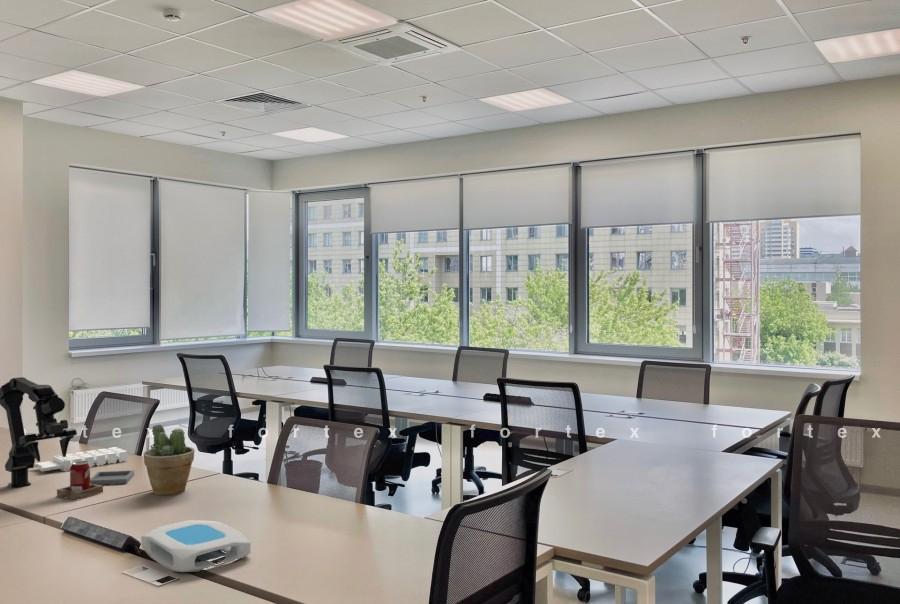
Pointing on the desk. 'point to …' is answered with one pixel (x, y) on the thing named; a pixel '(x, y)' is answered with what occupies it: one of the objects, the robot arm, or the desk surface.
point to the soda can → (79, 476)
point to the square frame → (78, 495)
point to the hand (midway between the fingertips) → (52, 459)
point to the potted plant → (168, 461)
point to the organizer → (84, 459)
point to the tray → (112, 477)
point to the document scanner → (193, 544)
